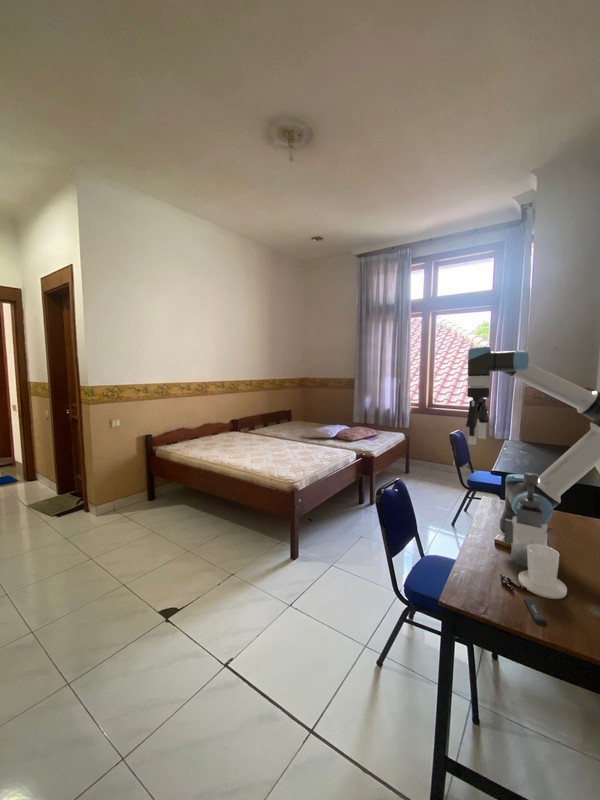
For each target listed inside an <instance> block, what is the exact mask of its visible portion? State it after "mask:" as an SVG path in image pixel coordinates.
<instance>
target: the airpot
mask: <svg viewBox="0 0 600 800" xmlns="http://www.w3.org/2000/svg"><path fill="white" fill-rule="evenodd" d="M542 518H543V506H542V507H540V508H534V510H532V509H527V508H526V506H523V505H521V504H520V503H518V507H517V516H514V517H513V518H512V520H510V519H505V531H504V543H509V544H511V553H510V555H511V556H510V557H511V560H512V561H514V562H515V563H517V564H518V565H520V566H522V567H526V568H528V560H527V546H528V545H530V544H540V545H544V546H548V533H549V534H553V528H552V527H550V526H549V527H548V523H547V521H546V522H544V521H542Z"/></svg>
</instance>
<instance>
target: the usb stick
mask: <svg viewBox="0 0 600 800" xmlns="http://www.w3.org/2000/svg"><path fill="white" fill-rule="evenodd" d="M523 600H524V602H525V604H526V606H527V609H528V611H529V612H530V614H531V615H532V617H533V619H534V621H535V623H536V624H539V625H542V626H546V624H547V621H546V618H545V617H544V615H543V614H542V612H541V610H540V609H539V608H540V607H538V604H537V603H536V601H535V600H534V599H533V598H531V597H524V599H523Z"/></svg>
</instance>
